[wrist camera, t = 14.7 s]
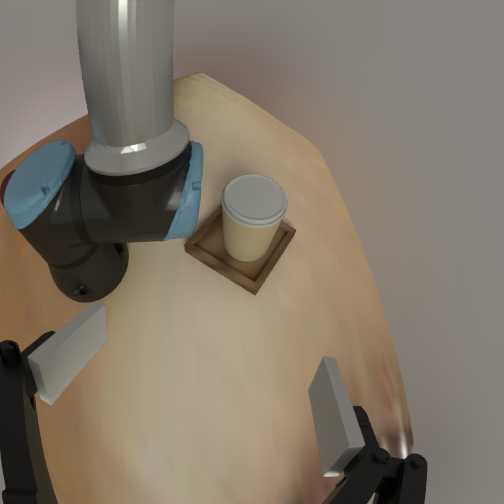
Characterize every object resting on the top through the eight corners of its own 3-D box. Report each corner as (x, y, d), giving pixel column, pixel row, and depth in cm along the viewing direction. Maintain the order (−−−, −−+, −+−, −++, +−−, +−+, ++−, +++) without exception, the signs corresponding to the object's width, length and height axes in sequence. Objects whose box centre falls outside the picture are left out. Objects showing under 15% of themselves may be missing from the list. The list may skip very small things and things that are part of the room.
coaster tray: (185, 251, 47) (184, 245, 45) (230, 200, 53) (231, 193, 52) (255, 295, 44) (257, 290, 43) (293, 236, 51) (296, 229, 49)
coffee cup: (283, 245, 49) (302, 200, 38) (244, 276, 45) (254, 235, 34) (247, 212, 51) (256, 164, 41) (207, 238, 47) (207, 191, 37)
